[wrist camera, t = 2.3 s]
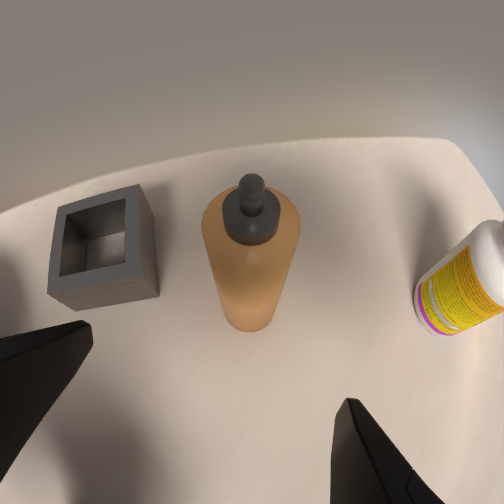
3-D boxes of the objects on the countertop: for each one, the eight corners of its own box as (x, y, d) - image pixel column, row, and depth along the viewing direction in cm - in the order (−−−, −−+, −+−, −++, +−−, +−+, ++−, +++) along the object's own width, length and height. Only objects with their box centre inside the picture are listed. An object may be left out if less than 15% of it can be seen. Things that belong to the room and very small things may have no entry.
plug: (284, 304, 22) (333, 175, 9) (252, 342, 21) (261, 254, 8) (246, 274, 23) (245, 126, 10) (213, 309, 22) (167, 184, 9)
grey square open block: (152, 214, 26) (139, 183, 22) (159, 296, 22) (141, 274, 18) (78, 232, 25) (58, 207, 21) (75, 311, 21) (47, 293, 17)
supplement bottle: (444, 353, 20) (552, 306, 9) (399, 306, 22) (496, 229, 11) (470, 302, 22) (558, 241, 11) (430, 259, 24) (508, 178, 13)
